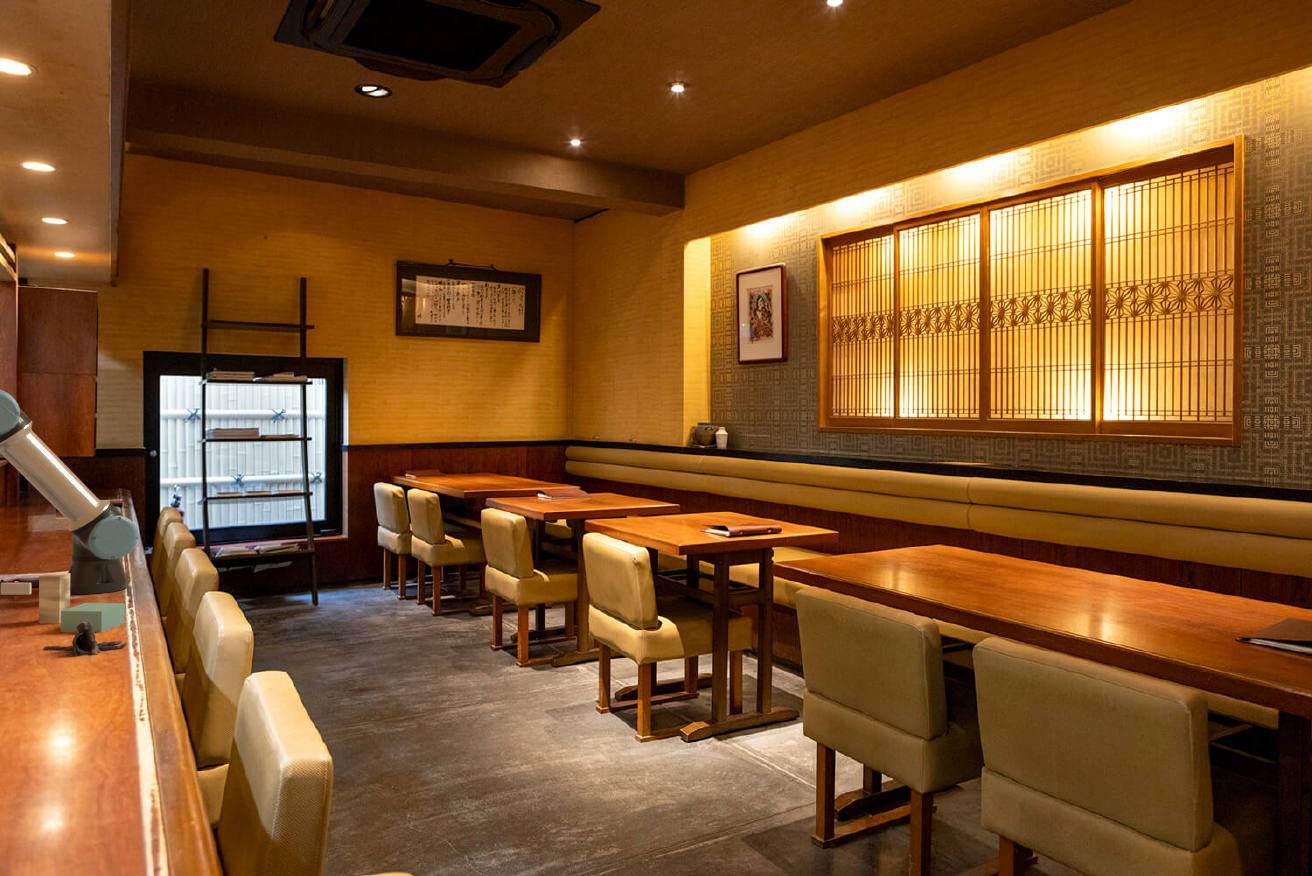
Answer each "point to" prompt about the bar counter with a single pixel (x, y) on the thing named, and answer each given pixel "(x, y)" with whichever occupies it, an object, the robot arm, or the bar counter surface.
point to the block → (53, 596)
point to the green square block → (93, 616)
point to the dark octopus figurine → (86, 643)
